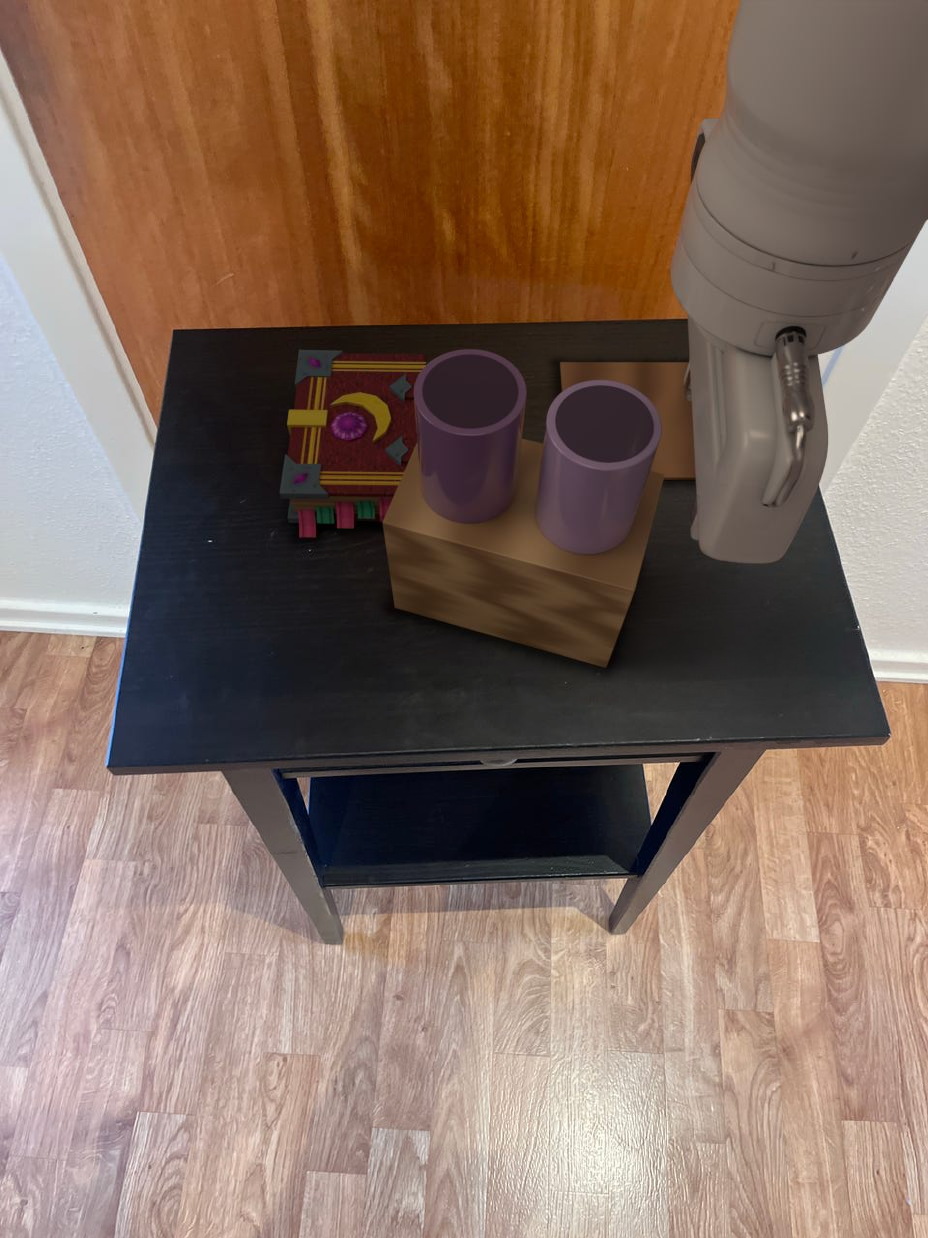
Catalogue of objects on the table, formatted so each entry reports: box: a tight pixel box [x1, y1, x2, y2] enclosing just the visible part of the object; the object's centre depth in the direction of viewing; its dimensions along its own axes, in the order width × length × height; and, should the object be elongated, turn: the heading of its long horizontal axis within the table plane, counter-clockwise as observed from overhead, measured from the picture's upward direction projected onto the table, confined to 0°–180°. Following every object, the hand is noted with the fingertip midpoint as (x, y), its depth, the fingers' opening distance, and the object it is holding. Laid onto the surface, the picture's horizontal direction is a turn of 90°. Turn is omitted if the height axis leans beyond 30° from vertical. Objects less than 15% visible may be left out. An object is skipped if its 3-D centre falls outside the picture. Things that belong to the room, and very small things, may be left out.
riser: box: [382, 438, 665, 669], centre depth 63 cm, size 17×10×12 cm, turn 72°
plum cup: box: [414, 348, 528, 524], centre depth 54 cm, size 7×7×9 cm
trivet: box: [559, 361, 696, 481], centre depth 76 cm, size 13×13×1 cm
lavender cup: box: [534, 380, 662, 555], centre depth 53 cm, size 7×7×9 cm
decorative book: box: [279, 349, 428, 538], centre depth 72 cm, size 11×16×5 cm
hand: (701, 458), depth 48 cm, fingers open, 8 cm apart
